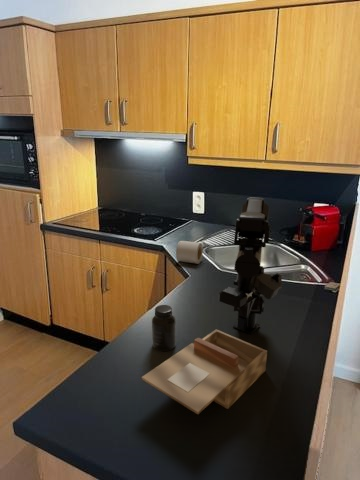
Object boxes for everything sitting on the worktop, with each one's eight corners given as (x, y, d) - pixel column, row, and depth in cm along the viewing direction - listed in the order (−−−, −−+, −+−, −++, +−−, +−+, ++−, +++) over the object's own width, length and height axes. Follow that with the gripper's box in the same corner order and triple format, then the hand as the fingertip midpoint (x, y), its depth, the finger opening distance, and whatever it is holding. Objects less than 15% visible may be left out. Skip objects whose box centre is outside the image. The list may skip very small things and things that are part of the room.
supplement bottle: (163, 336, 109) (162, 300, 105) (180, 344, 104) (180, 307, 101) (147, 346, 103) (146, 309, 100) (164, 355, 99) (164, 316, 96)
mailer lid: (191, 344, 93) (191, 334, 92) (244, 370, 83) (245, 359, 82) (141, 379, 80) (141, 367, 79) (197, 414, 70) (198, 401, 69)
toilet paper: (202, 259, 175) (203, 240, 172) (195, 266, 166) (196, 246, 163) (183, 257, 178) (183, 238, 175) (176, 263, 169) (176, 243, 166)
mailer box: (215, 347, 103) (216, 329, 101) (265, 370, 93) (267, 350, 91) (174, 378, 90) (174, 357, 88) (227, 409, 80) (228, 386, 78)
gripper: (259, 282, 80) (255, 342, 84) (294, 260, 93) (288, 313, 98) (218, 269, 87) (216, 326, 91) (256, 251, 100) (252, 301, 105)
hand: (245, 316), depth 96 cm, fingers closed
